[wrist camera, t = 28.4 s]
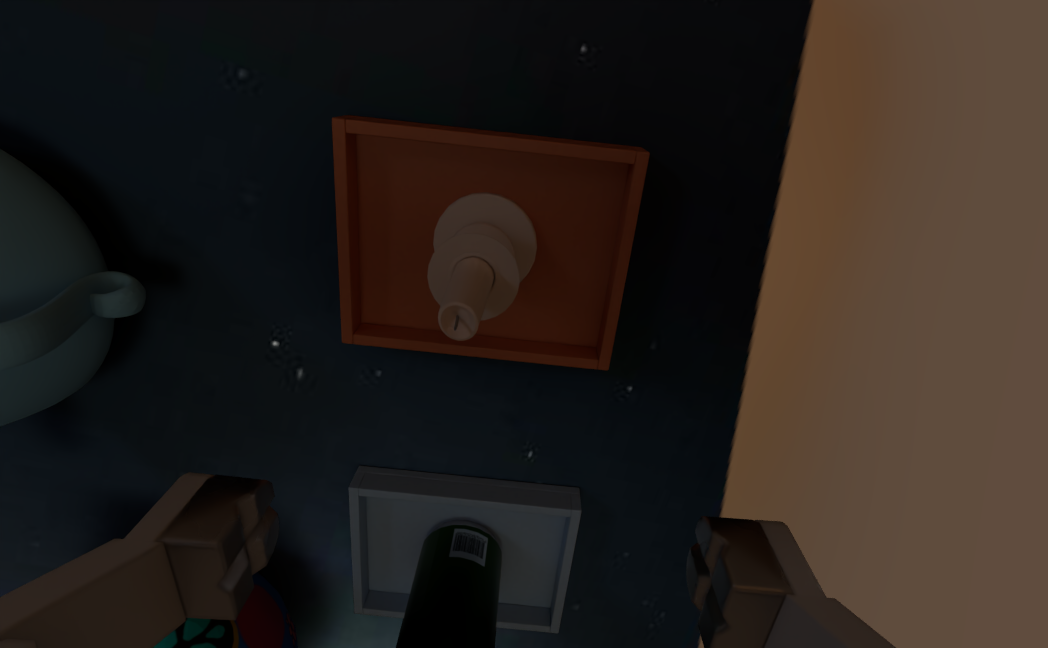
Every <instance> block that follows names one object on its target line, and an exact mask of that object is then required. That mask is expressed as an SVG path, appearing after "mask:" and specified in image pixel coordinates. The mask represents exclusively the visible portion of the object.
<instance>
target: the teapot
mask: <svg viewBox="0 0 1048 648" xmlns="http://www.w3.org/2000/svg"><path fill="white" fill-rule="evenodd" d="M145 300H146V290H145V288H144V287H143V285H142V284H141V283H140V282H139V281H138V280H137V279H136V278H134V277H133V276H131V275H129V274H126V273H122V272H115V271H108V269H107V266H106V263H105V260H104V257H103V255H102V253H101V250H100V248H99V246H98V244H97V242H96V240H95V238H94V237H93V235H92V233H91V232H90V230H89V229H88V227H87V225H86V224H85V223H84V221H83V220H82V219H81V217H80V216H79V215H78V213H77V212H76V211H75V210H74V209H73V207H72V206H71V205H70V204H69V203H68V202H67V201H66V200H65V199H64V198H63V197H62V196H61V195H60V194H59V193H58V192H57V191H56V190H55V189H54V188H53V187H52V186H51V185H49V184H48V183H47V182H46V181H45V180H44V179H43V178H41V177H40V176H39V175H38V174H36V173H35V172H34V171H32V170H31V169H30V168H28V167H27V166H26V165H24V164H23V163H22V162H20V161H19V160H17V159H16V158H14V157H13V156H11V155H9V154H8V153H6V152H5V151H3V150H1V149H0V428H1V426H3V425H6V424H8V423H11V422H14V421H17V420H20V419H23V418H25V417H27V416H30V415H32V414H35V413H37V412H39V411H42V410H44V409H46V408H49V407H51V406H53V405H55V404H57V403H58V402H60V401H62V400H63V399H65V398H67V397H68V396H70V395H72V394H73V393H75V392H76V391H78V390H80V389H81V388H82V387H83V386H84V385H85V384H86V383H88V382H89V381H90V380H91V379H92V377H93V376H94V375H95V373H96V372H97V371H98V369H99V368H100V366H101V365H102V363H103V361H104V359H105V357H106V355H107V353H108V351H109V348H110V345H111V341H112V337H113V330H114V320H115V318H120V317H127V316H131V315H134V314H136V313H138V312H140V311H141V310H142V308H143V306H144V304H145Z"/></svg>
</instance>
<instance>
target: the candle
mask: <svg viewBox="0 0 1048 648" xmlns="http://www.w3.org/2000/svg"><path fill="white" fill-rule="evenodd" d="M433 245H434V251H435V252H434V253H433V255H432V258H431V260H430V263H429V265H428V275H427V278H428V283H429V288H430V290H431V293H432V295H433V297H434V299H435V300H436V301H437V302H438V304H439V305H440V310H439V313H438V322H439V326H440V328H441V330H442V331H443V332H444V334H445V335H447V336H448V337H449V338H451V339H453V340H457V341H464V340H468V339H470V338H472V337H473V336H474V335H475V334H476V332H477V330H478V325H479V323H480V320H487V319H490V318H493V317H496V316H498V315H499V314H501V313H502V312H504V311H505V310H506V309H507V308H508V307H509V306H510V305H511V304H512V303H513V301H514V299H515V297H516V295H517V293H518V288H519V283H520V282H521V281H522V280H523V279H524V278H525V277H526V275H527V274H528V273H529V271H530V269H531V267H532V265H533V263H534V261H535V256H536V251H537V241H536V232H535V229H534V227H533V224H532V221H531V220H530V218H529V217H528V215H527V214H526V212H525V211H524V210H523V209H522V208H521V207H520V206H519V205H518V204H516V203H515V202H514V201H513V200H511V199H509V198H506V197H504V196H502V195H500V194H495V193H489V192H480V193H472V194H469V195H466V196H464V197H461V198H459V199H458V200H456V201H455V202H454V203H452V204H451V205H449V206H448V208H447V209H446V210H445V212H444V213H443V214H442V215H441V217H440V218H439V221H438V223H437V226H436V228H435V231H434V241H433Z"/></svg>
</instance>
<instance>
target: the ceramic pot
mask: <svg viewBox="0 0 1048 648" xmlns="http://www.w3.org/2000/svg"><path fill="white" fill-rule="evenodd" d="M252 577H253V582H254V589H253V590H252V592H251V594H250V596H249V597H248V599H247V601H246V603H245V604H244V606H243V608H242V610H241V611H240V613H239V615H238V617H237V618H236V620H219V619H200V618H186V621H185V622H184V623H183V624H181V625H180V626H179V627H178V628H176V629H175V630H174V631H173V632H171V633H170V634H169V635H168V636H166V637H165V638H164V639H163V640H161V641H160V642H159V643H158V644H156V645H155V646H154V647H153V648H298V646H297V636H296V629H295V625H294V623H293V621H292V619H291V616H290V614H289V612H288V610H287V608H286V606H285V604H284V602H283V600H282V598H281V596H280V594H279V592H278V591H277V590H276V589H275V588H274V587H273V586H272V585H271V584H270V583H269V582H268V581H267V580H266V579H265V578H264V577H263V576H262V575H260V574H259V573H258V572H256V573H255V574H253V575H252Z"/></svg>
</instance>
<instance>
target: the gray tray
mask: <svg viewBox="0 0 1048 648" xmlns="http://www.w3.org/2000/svg"><path fill="white" fill-rule="evenodd" d="M349 508H350V530H351V552H352V574H353V596H354V613H355V614H366V615H376V616H386V617H397V618H404V614H405V610H406V606H407V602H408V599H409V595H410V591H411V587H412V583H413V579H414V576H415V572H416V568H417V564H418V560H419V556H420V552H421V549H422V546H423V543H424V540H425V539H426V538H427V537H428V536H429V535H430V533H431V532H432V531H433V530H434V529H435V528H436V527H438V526H439V525H441V524H443V523H445V522H448V521H453V520H469V521H473V522H476V523H479V524H481V525H483V526H484V527H486V528H488V529H489V530H490V531H491V532H492V533H493V534H494V536H495V538H496V540H497V542H498V544H499V547H500V549H501V551H502V566H501V578H500V590H499V601H498V613H497V625H496V627H499V628H509V629H519V630H530V631H540V632H550V633H558V631H559V626H560V621H561V616H562V611H563V605H564V600H565V595H566V590H567V584H568V579H569V574H570V569H571V564H572V558H573V553H574V548H575V543H576V537H577V532H578V527H579V522H580V516H581V501H580V490H579V488H576V487H566V486H556V485H546V484H536V483H526V482H516V481H507V480H497V479H487V478H477V477H467V476H457V475H447V474H437V473H428V472H418V471H408V470H398V469H388V468H378V467H368V466H359V467H358V469H357V472H356V473H355V475H354V478H353V480H352V482H351V484H350V486H349Z"/></svg>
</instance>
